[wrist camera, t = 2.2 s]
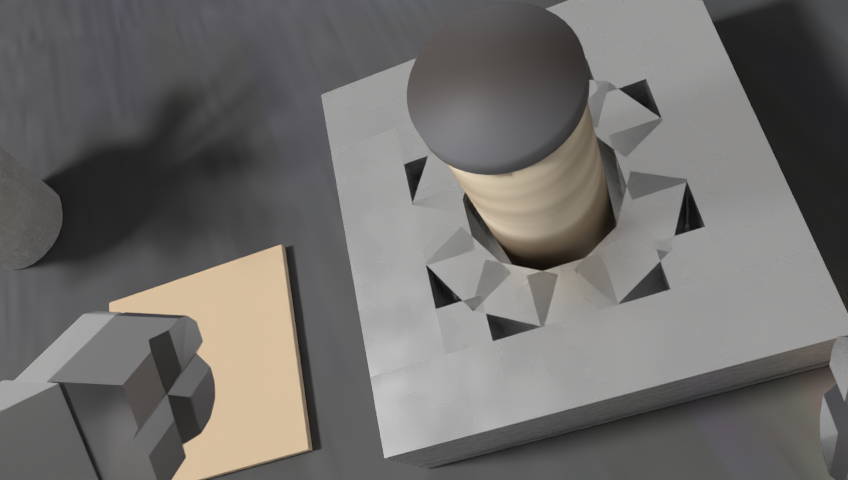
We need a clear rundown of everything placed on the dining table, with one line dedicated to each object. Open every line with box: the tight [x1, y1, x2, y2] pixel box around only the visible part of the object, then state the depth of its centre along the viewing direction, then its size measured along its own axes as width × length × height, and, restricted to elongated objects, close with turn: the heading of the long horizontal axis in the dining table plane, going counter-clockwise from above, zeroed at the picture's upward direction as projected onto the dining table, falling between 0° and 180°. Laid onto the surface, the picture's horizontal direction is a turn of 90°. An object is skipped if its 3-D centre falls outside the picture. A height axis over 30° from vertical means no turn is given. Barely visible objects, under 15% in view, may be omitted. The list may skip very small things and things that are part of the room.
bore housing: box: [321, 0, 848, 469], centre depth 31 cm, size 16×16×5 cm
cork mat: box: [109, 245, 313, 480], centre depth 36 cm, size 10×10×1 cm
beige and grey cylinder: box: [407, 3, 616, 271], centre depth 27 cm, size 5×5×12 cm
